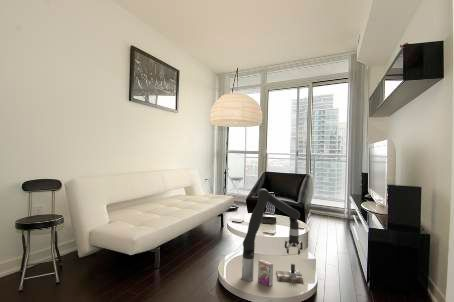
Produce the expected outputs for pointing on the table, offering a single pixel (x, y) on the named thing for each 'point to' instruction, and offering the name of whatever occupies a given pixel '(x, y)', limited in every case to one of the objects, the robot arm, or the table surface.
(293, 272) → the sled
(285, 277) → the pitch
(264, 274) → the candy bar box
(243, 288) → the table surface
